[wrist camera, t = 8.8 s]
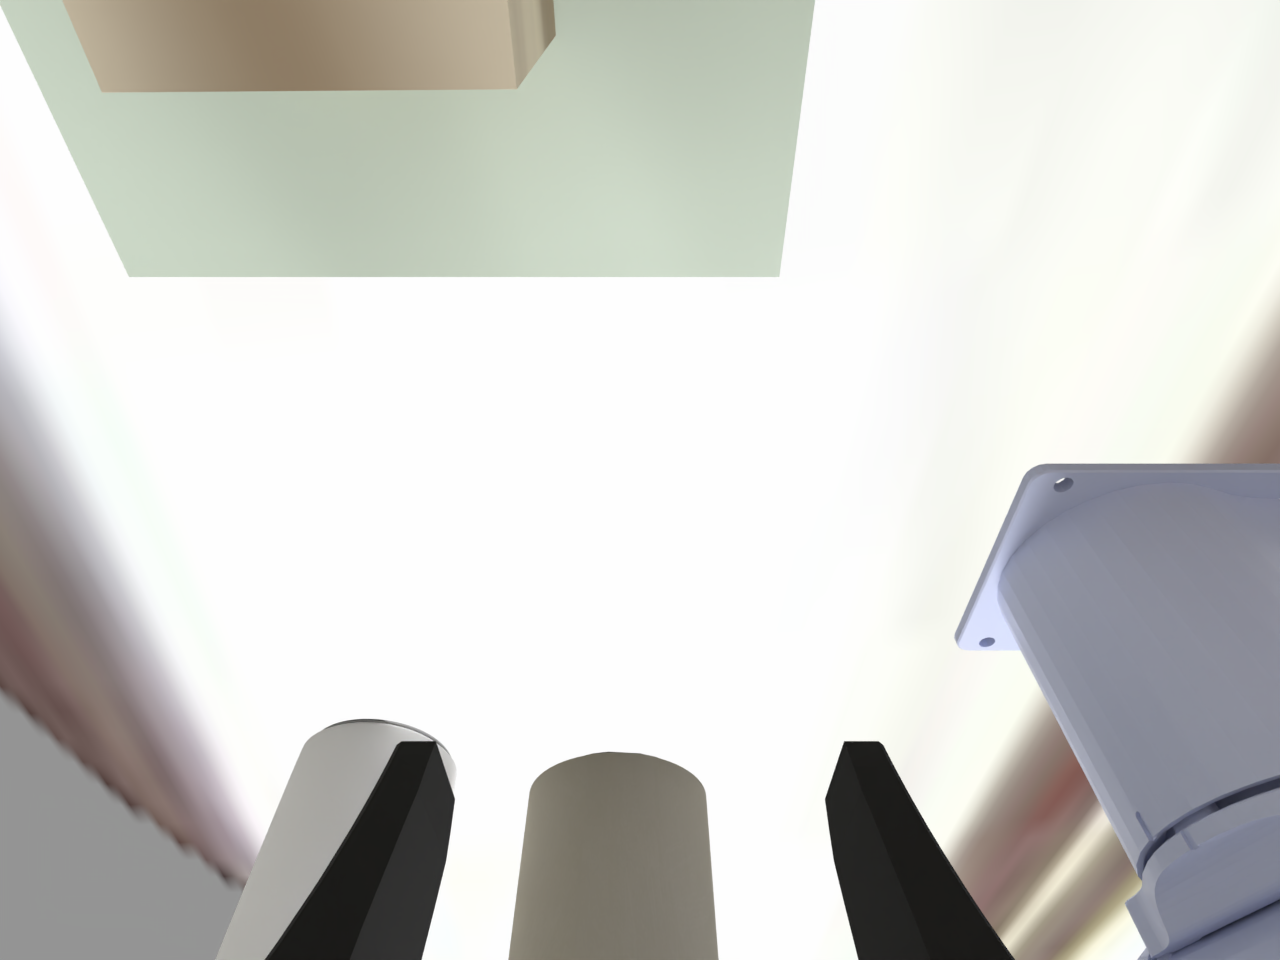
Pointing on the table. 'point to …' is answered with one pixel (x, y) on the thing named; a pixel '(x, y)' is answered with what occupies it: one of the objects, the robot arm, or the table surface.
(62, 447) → the table surface
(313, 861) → the can
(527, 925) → the travel mug
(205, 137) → the base
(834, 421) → the table surface
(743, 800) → the table surface
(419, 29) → the block
